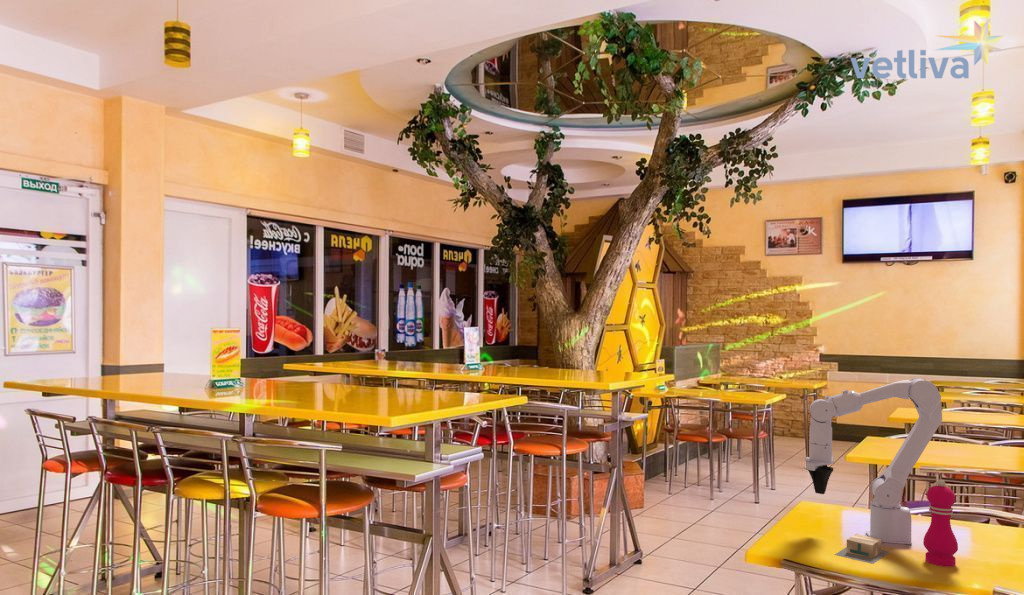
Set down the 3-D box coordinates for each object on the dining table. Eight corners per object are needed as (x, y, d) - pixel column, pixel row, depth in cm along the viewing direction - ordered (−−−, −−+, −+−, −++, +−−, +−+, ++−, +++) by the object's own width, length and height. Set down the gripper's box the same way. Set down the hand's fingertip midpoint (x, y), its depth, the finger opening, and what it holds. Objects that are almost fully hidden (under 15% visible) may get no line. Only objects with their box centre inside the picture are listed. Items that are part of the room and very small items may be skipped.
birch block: (872, 545, 177) (881, 539, 183) (846, 539, 182) (856, 533, 187) (872, 558, 177) (881, 552, 182) (846, 552, 182) (856, 546, 187)
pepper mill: (957, 570, 171) (958, 484, 171) (922, 564, 175) (923, 480, 175) (958, 561, 177) (958, 478, 177) (923, 555, 181) (924, 474, 181)
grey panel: (852, 544, 189) (852, 543, 189) (890, 552, 183) (890, 551, 183) (834, 555, 180) (834, 554, 180) (873, 564, 173) (873, 563, 173)
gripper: (816, 438, 208) (815, 486, 208) (795, 444, 198) (794, 494, 198) (841, 442, 204) (841, 491, 203) (822, 448, 193) (821, 499, 193)
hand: (820, 493), depth 200 cm, fingers closed
